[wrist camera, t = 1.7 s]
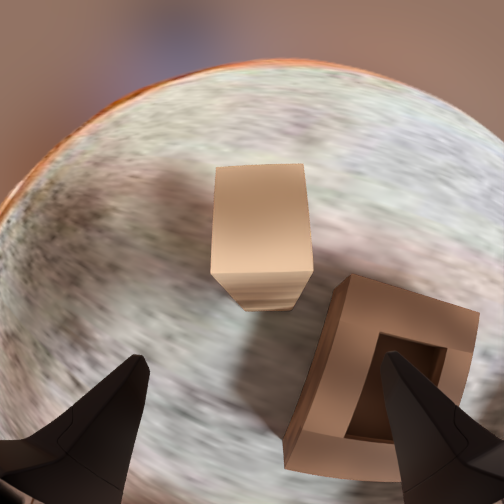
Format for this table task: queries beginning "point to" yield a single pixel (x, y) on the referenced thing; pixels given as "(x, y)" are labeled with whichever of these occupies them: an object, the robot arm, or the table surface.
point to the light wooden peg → (261, 235)
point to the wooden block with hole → (372, 376)
